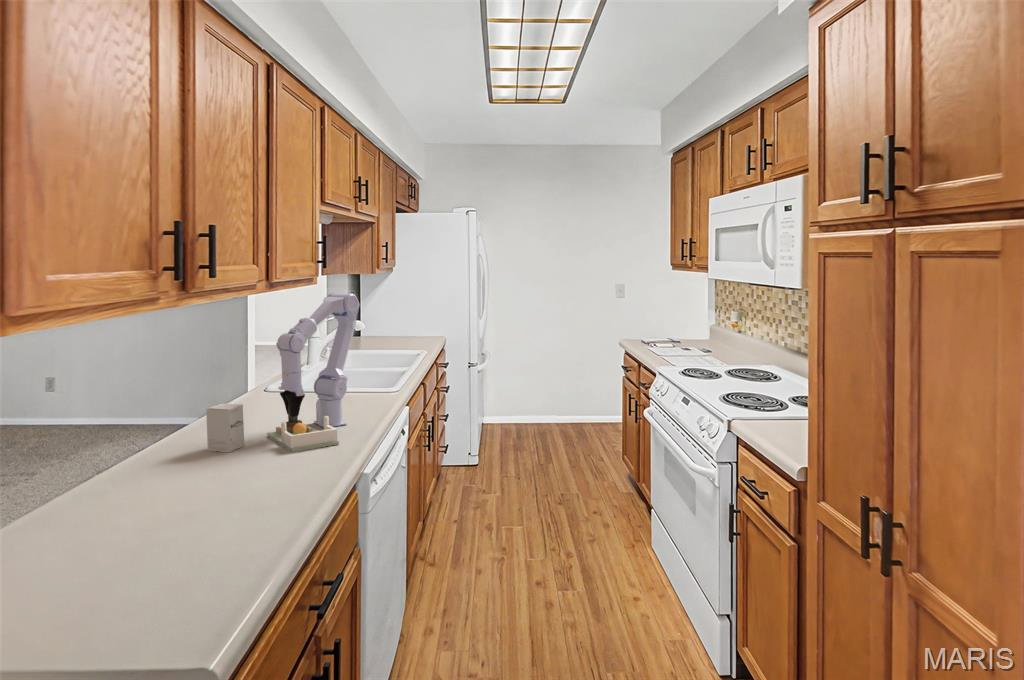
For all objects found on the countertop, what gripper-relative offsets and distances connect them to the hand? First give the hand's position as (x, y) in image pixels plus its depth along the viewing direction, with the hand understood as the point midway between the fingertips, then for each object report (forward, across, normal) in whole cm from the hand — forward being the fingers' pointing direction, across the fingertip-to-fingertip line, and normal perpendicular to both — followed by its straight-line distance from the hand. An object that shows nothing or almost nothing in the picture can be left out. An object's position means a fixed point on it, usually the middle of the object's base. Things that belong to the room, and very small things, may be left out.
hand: (292, 415), depth 213 cm
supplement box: (+7, +4, -21) cm, 22 cm away
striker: (+5, 0, 0) cm, 5 cm away
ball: (+3, +6, 0) cm, 7 cm away
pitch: (+6, +7, 0) cm, 9 cm away
